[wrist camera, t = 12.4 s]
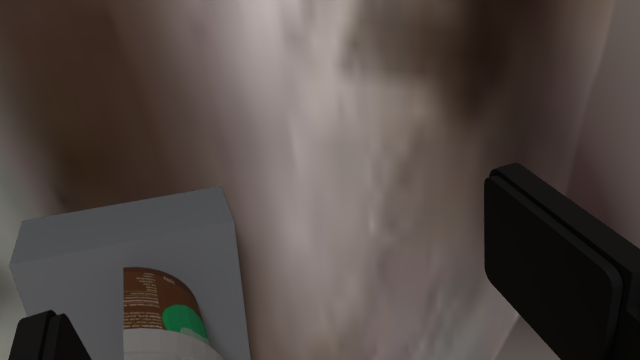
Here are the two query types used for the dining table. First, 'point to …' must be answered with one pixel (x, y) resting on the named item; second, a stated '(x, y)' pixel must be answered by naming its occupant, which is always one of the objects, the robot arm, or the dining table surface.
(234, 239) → the grey block
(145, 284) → the food container
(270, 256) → the dining table surface
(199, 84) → the dining table surface
